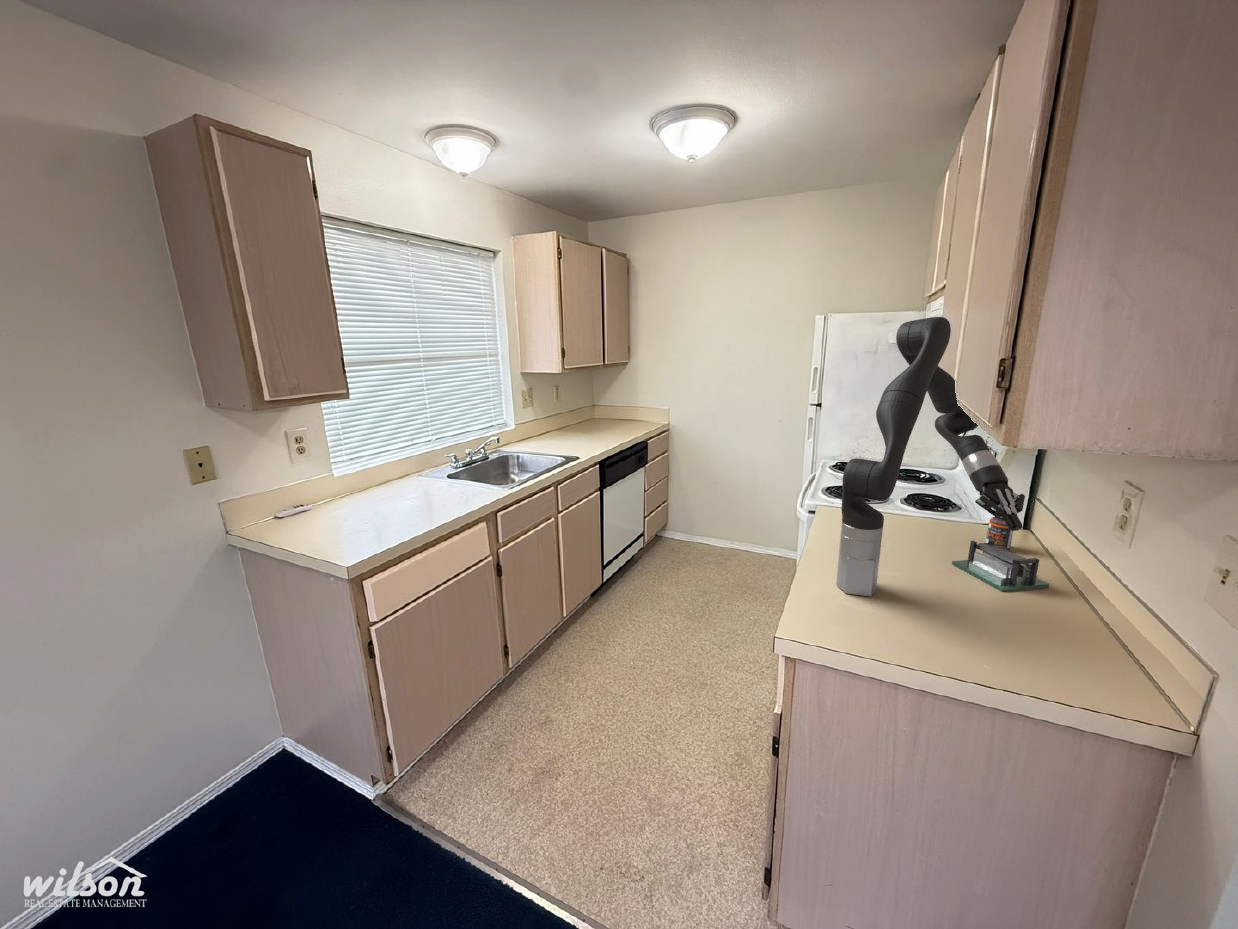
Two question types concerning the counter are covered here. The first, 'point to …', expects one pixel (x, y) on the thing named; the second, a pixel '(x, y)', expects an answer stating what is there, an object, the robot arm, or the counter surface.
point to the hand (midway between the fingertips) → (1017, 529)
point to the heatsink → (1001, 570)
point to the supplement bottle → (999, 533)
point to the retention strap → (998, 552)
